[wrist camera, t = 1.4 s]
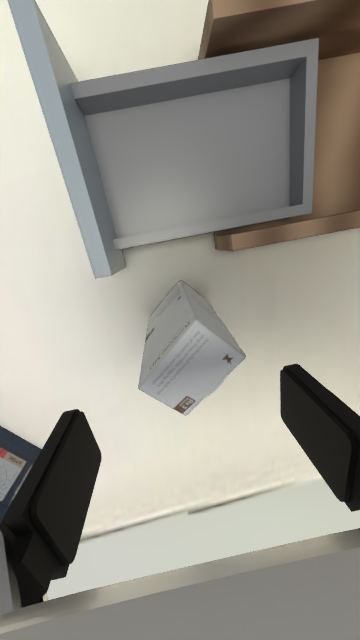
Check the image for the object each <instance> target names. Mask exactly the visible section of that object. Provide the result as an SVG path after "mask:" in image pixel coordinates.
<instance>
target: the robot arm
mask: <svg viewBox="0 0 360 640" xmlns="http://www.w3.org/2000/svg"><path fill="white" fill-rule="evenodd" d="M280 392H281V417H282V420H283V422H284V423H285V425H286V426H287V427H288V429H289V430H290V432H291V433H292V435H293V436H294V437H295V439H296V440H297V442H298V443H299V445H300V446H301V447H302V449H303V450H304V452H305V453H306V455H307V456H308V457H309V459H310V460H311V462H312V463H313V465H314V466H315V467H316V469H317V470H318V472H319V473H320V474H321V476H322V477H323V479H324V480H325V482H326V483H327V484H328V486H329V487H330V489H331V490H332V491H333V493H334V494H335V496H336V497H337V498H338V499H339V500H340V501H341V502H345V503H346V505H347V506H348V507H349V509H350V510H351V511H356V510H360V416H359V415H358V414H356V413H355V412H354V411H353V410H352V409H351V408H349V407H348V406H347V405H346V404H345V403H344V402H342V401H341V400H340V399H339V398H338V397H337V396H335V395H334V394H333V393H332V392H331V391H329V390H328V389H326V388H325V387H324V386H323V385H322V384H321V383H319V382H318V381H317V380H316V379H315V378H314V377H312V376H311V375H310V374H309V373H308V372H307V371H306V370H304V369H303V368H302V367H301V366H300V365H298V364H293V365H288V366H284V368H283V370H281V371H280ZM100 463H101V452H100V449H99V447H98V445H97V442H96V440H95V438H94V435H93V433H92V431H91V428H90V426H89V424H88V421H87V419H86V417H85V415H84V413H83V412H80V411H79V410H78V409H75V410H71V411H66V412H64V413H63V414H62V415H61V417H60V419H59V421H58V422H57V424H56V426H55V428H54V429H53V431H52V433H51V435H50V436H49V438H48V440H47V442H46V443H45V445H44V447H43V449H42V450H41V452H40V454H39V456H38V457H37V459H36V461H35V463H34V464H33V466H32V468H31V470H30V471H29V473H28V475H27V477H26V478H25V480H24V482H23V484H22V485H21V487H20V489H19V491H18V492H17V494H16V496H15V498H14V499H13V501H12V503H11V505H10V506H9V508H8V510H7V512H6V513H5V515H4V517H3V519H2V522H1V524H0V640H360V528H359V529H355V530H349V531H344V532H339V533H334V534H329V535H325V536H321V537H316V538H312V539H307V540H303V541H298V542H293V543H289V544H285V545H280V546H276V547H272V548H267V549H263V550H258V551H253V552H249V553H245V554H241V555H236V556H232V557H228V558H223V559H219V560H214V561H210V562H206V563H201V564H197V565H193V566H188V567H184V568H180V569H175V570H171V571H167V572H163V573H158V574H155V575H151V576H146V577H142V578H137V579H133V580H129V581H125V582H120V583H116V584H112V585H108V586H104V587H99V588H95V589H91V590H87V591H83V592H79V593H75V594H71V595H67V596H64V597H60V598H56V599H52V600H48V597H47V590H48V587H49V584H50V581H51V580H55V579H59V578H64V577H66V574H67V571H68V567H69V564H71V563H72V562H73V561H74V558H75V556H76V552H77V548H78V545H79V541H80V537H81V534H82V530H83V526H84V522H85V519H86V515H87V511H88V508H89V504H90V500H91V496H92V493H93V489H94V485H95V481H96V478H97V474H98V470H99V467H100Z"/></svg>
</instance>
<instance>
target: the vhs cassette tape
mask: <svg viewBox="0 0 360 640" xmlns="http://www.w3.org/2000/svg"><path fill="white" fill-rule="evenodd" d="M41 450H42V449H40V448H38V447H37V446H35V445H33V444H31V443H29V442H28V441H26V440H24V439H22V438H21V437H19V436H17V435H15V434H14V433H12V432H10V431H8V430H7V429H5V428H3V427H1V426H0V524H1V522H2V519H3V517H4V515H5V513H6V512H7V510H8V508H9V506H10V505H11V503H12V501H13V499H14V498H15V496H16V494H17V492H18V491H19V489H20V487H21V485H22V484H23V482H24V480H25V478H26V477H27V475H28V473H29V471H30V470H31V468H32V466H33V464H34V463H35V461H36V459H37V457H38V456H39V454H40V452H41Z"/></svg>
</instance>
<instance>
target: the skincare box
mask: <svg viewBox="0 0 360 640" xmlns="http://www.w3.org/2000/svg"><path fill="white" fill-rule="evenodd" d="M245 357H246V355H245V353H244V352H243V351H242V350H241V348H240V347H239V346H238V344H237V343H236V341H235V339H234V338H233V336H232V335H231V333H230V332H229V331H228V329H227V328H226V326H225V325H224V323H223V322H222V320H221V319H220V318H219V316H218V315H217V313H216V312H215V311H214V309H213V308H212V306H211V305H210V303H209V302H208V301H207V300H206V299H205V298H204V297H202V296H201V295H200V294H199V293H198V292H196V291H195V290H194V289H193V288H191V287H190V286H189V285H188V284H186V283H185V282H184V281H182V280H181V281H179V282H178V283H177V284H176V285H175V286H174V288H173V289H172V290H171V291H170V292H169V293H168V294H167V296H166V297H165V298H164V299H163V301H162V302H161V303H160V304H159V306H158V307H157V308H156V310H155V311H154V312H153V314H152V315H151V317H150V318H149V322H148V327H147V334H146V340H145V347H144V353H143V359H142V366H141V373H140V379H139V385H138V389H139V390H141V391H143V392H145V393H146V394H148V395H150V396H151V397H153V398H155V399H157V400H158V401H160V402H162V403H164V404H166V405H167V406H169V407H171V408H173V409H175V410H176V411H178V412H180V413H182V414H183V415H185V416H186V415H188V414H189V413H190V412H191V411H192V410H193V409H194V408H195V407H196V406H197V405H198V404H199V403H200V402H201V401H202V400H203V399H204V398H206V397H207V396H209V395H210V394H211V393H213V392H214V391H215V390H216V389H217V388H218V387H219V386H220V385H221V383H222V382H223V380H224V379H225V377H226V376H227V375H228V374H229V373H230V372H231V371H232V370H233V369H234V368H235V367H236V366H237V365H238V364H239V363H240V362H242V361H243V360H244V359H245Z"/></svg>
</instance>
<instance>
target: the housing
mask: <svg viewBox="0 0 360 640" xmlns="http://www.w3.org/2000/svg"><path fill="white" fill-rule="evenodd" d="M316 38H319V48H318V73H317V98H316V123H315V148H314V173H313V198H312V213H309V214H304V215H300V216H295V217H290V218H284V219H279V220H274V221H268V222H263V223H258V224H252V225H247V226H242V227H236V228H231V229H226V230H220V231H215V232H214V241H215V249H218V250H227V251H236V250H242V249H247V248H252V247H258V246H263V245H268V244H274V243H279V242H284V241H289V240H295V239H300V238H305V237H311V236H316V235H321V234H327V233H332V232H337V231H343V230H348V229H353V228H359V227H360V0H209V2H208V7H207V12H206V18H205V23H204V29H203V34H202V40H201V45H200V51H199V56H198V60H201V59H206V58H212V57H217V56H223V55H228V54H234V53H239V52H245V51H250V50H256V49H261V48H267V47H272V46H277V45H283V44H288V43H294V42H299V41H305V40H310V39H316Z"/></svg>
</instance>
